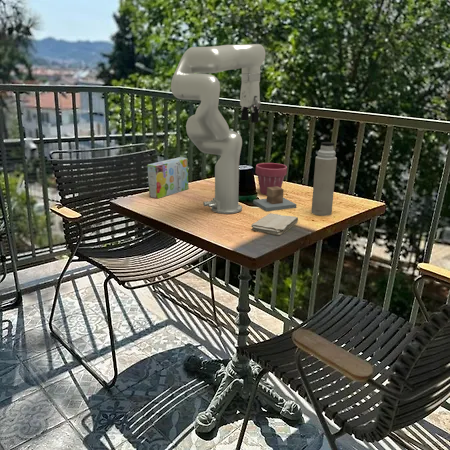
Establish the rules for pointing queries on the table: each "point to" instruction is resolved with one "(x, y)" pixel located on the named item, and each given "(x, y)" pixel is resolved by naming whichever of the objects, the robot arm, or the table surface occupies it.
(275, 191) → the walnut block
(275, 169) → the plant pot
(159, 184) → the snack box
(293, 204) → the slate board
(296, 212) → the table surface
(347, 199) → the table surface
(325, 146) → the thermos bottle
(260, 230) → the washcloth
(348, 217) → the table surface
